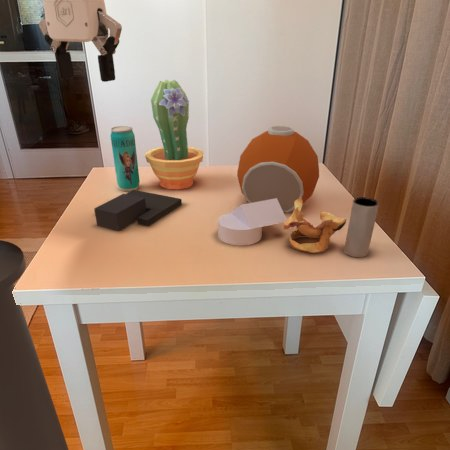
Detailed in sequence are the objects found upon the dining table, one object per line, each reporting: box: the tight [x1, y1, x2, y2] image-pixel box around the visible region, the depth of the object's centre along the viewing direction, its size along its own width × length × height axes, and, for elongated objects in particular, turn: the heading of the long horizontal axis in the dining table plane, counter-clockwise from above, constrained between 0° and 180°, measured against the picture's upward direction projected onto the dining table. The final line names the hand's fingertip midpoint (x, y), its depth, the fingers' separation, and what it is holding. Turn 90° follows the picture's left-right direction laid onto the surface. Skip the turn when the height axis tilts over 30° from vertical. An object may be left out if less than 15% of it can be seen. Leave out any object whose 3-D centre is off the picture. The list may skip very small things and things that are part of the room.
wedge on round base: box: [217, 198, 288, 247], centre depth 86 cm, size 9×7×13 cm
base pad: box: [125, 189, 183, 227], centre depth 98 cm, size 14×14×2 cm
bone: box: [283, 198, 347, 255], centre depth 82 cm, size 12×10×8 cm
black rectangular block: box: [93, 193, 146, 232], centre depth 93 cm, size 6×10×4 cm, turn 154°
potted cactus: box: [144, 79, 204, 190], centre depth 107 cm, size 15×15×25 cm
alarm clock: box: [236, 125, 320, 213], centre depth 98 cm, size 19×18×17 cm
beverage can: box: [110, 125, 140, 192], centre depth 106 cm, size 6×6×15 cm
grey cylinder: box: [343, 196, 380, 258], centre depth 79 cm, size 4×4×10 cm
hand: (87, 79), depth 76 cm, fingers open, 9 cm apart
